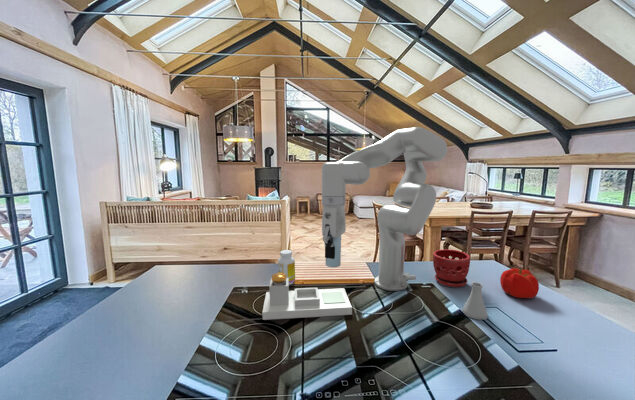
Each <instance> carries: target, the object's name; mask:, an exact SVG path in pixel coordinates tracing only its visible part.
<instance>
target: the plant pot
mask: <svg viewBox="0 0 635 400" xmlns="http://www.w3.org/2000/svg"><path fill="white" fill-rule="evenodd" d="M449 257H451V258H449ZM456 258H458V259H456ZM432 262H433V263H432V265H433V270H434V272H435V275H434V279H435V280H436V282H438V283H440V285H442V286H446V287H450V288H460V287H464V286H465V285H467V283H468V279H467V276H468V275H469V271H470V263H471V256H470V255H469V253H466V252H464V251H462V250H461V251H460V250H456V249H446V248H445V249H436V250H435V251H433V253H432Z"/></svg>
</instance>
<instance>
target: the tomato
mask: <svg viewBox="0 0 635 400" xmlns="http://www.w3.org/2000/svg"><path fill="white" fill-rule="evenodd" d="M499 279H500V281H499V282H500V287H501V289H502V290H503V292H504V293H505V294H508V295H510V296H512V297H513V298H514V297H515V298H517V299H532V298H535V297H537V295H538V294H539V290H540V284H539V281H538V279H537V277H536V276H535V275H534V274H532V273H531V271H530V270H528V269H524V268H523V269H521V268H520V269H519V268H517V267H516V268H514V267H512V268H510V269H507V270H504V271H503V272H502V273H501V275H500V278H499Z"/></svg>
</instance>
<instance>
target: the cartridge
mask: <svg viewBox="0 0 635 400" xmlns="http://www.w3.org/2000/svg"><path fill="white" fill-rule="evenodd" d="M329 237H332V235H329ZM329 240H330V241H332V239H329ZM334 247H335V258H334V259H330V258H325V266H326V267H328V268H338V267H340V266H341V265H342V263H341V261H342V260H341V258H342V257H341V255H342V235H341V236H339V237H338V238H335V239H334Z"/></svg>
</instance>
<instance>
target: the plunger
mask: <svg viewBox="0 0 635 400" xmlns="http://www.w3.org/2000/svg"><path fill="white" fill-rule="evenodd" d="M271 279H272V281H273V282H274V285H285V281H286V279H287V277H286V274H285V273H278V272H276V273H273V274H272V275H271Z"/></svg>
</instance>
